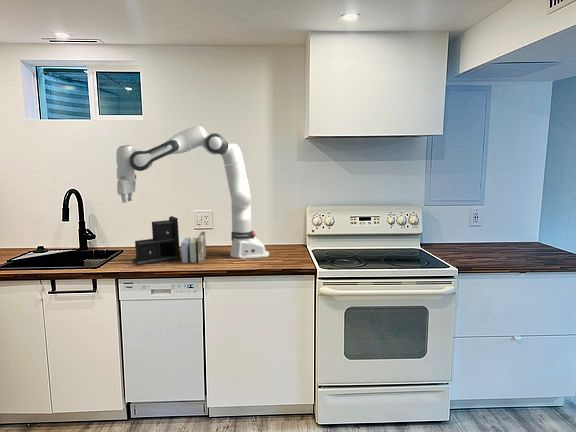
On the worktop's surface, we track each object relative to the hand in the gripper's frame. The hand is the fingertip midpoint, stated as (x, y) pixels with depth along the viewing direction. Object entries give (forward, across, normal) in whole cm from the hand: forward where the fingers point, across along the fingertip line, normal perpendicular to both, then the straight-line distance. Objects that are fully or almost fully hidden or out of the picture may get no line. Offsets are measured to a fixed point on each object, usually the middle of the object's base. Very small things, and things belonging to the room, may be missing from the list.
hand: (127, 201), depth 219 cm
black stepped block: (+33, 0, -15) cm, 36 cm away
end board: (+32, 0, -39) cm, 51 cm away
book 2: (+32, 0, -35) cm, 48 cm away
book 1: (+32, 0, -31) cm, 45 cm away
